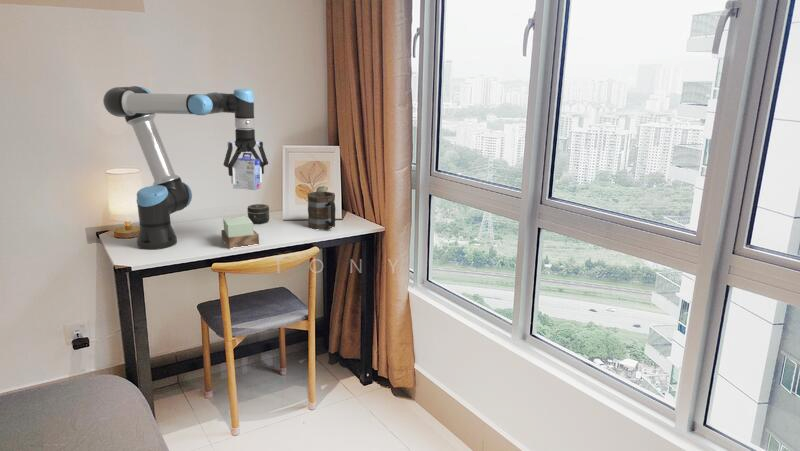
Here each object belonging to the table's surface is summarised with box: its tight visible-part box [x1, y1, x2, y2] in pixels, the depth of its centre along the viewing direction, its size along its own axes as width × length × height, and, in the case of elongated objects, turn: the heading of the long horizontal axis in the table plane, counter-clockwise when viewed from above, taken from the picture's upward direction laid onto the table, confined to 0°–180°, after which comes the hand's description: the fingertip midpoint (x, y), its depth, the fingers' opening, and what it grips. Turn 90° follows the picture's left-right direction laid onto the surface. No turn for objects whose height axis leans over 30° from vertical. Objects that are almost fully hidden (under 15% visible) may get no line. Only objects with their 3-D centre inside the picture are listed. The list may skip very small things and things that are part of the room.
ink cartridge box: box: [232, 152, 261, 191], centre depth 229 cm, size 10×6×14 cm, turn 80°
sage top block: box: [223, 215, 254, 237], centre depth 233 cm, size 10×12×5 cm
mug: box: [307, 191, 337, 230], centre depth 257 cm, size 20×14×15 cm
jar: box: [246, 203, 270, 225], centre depth 266 cm, size 10×10×8 cm
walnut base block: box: [220, 229, 260, 249], centre depth 234 cm, size 12×13×5 cm
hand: (246, 182), depth 231 cm, fingers closed on ink cartridge box, 10 cm apart
